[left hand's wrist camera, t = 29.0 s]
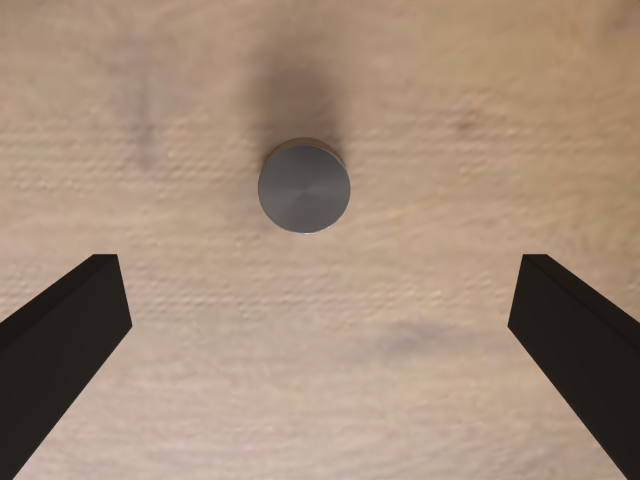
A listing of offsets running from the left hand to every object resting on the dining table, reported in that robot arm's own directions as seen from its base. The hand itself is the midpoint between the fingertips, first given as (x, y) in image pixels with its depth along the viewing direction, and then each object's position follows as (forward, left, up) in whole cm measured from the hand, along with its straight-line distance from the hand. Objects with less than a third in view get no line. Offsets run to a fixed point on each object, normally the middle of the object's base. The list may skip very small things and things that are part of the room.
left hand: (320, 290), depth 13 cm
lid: (+1, 0, -10) cm, 10 cm away
